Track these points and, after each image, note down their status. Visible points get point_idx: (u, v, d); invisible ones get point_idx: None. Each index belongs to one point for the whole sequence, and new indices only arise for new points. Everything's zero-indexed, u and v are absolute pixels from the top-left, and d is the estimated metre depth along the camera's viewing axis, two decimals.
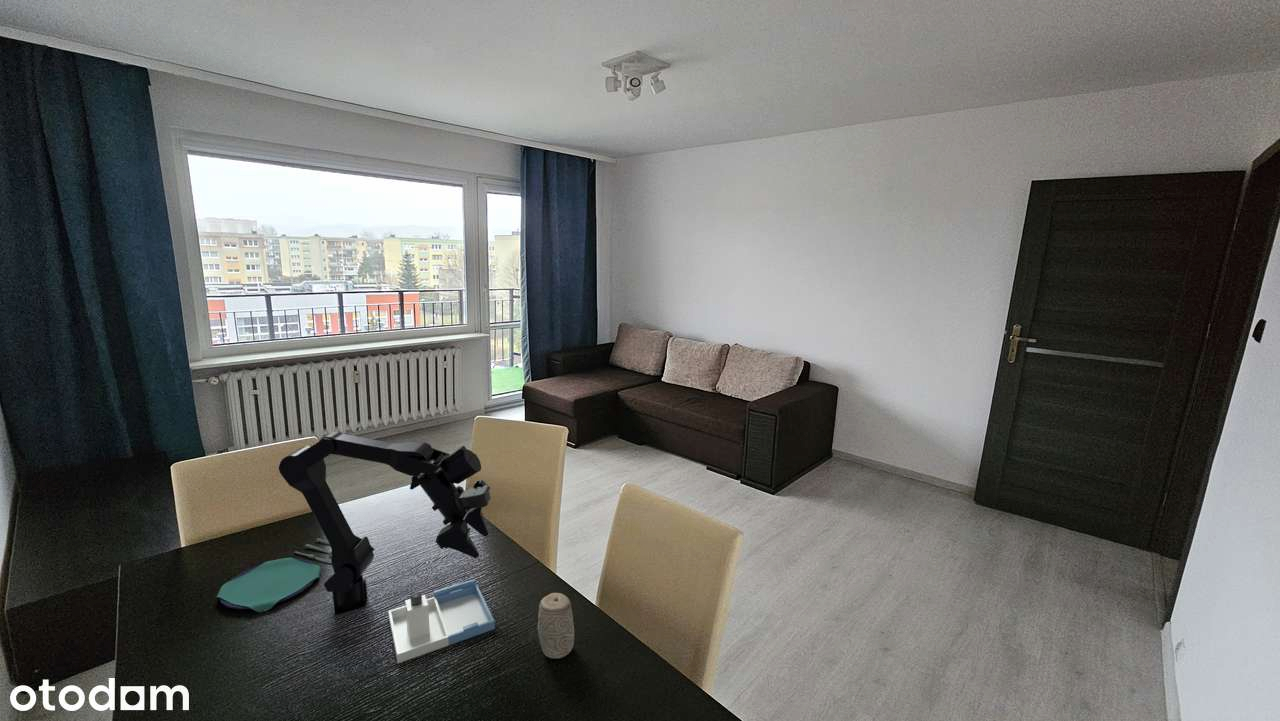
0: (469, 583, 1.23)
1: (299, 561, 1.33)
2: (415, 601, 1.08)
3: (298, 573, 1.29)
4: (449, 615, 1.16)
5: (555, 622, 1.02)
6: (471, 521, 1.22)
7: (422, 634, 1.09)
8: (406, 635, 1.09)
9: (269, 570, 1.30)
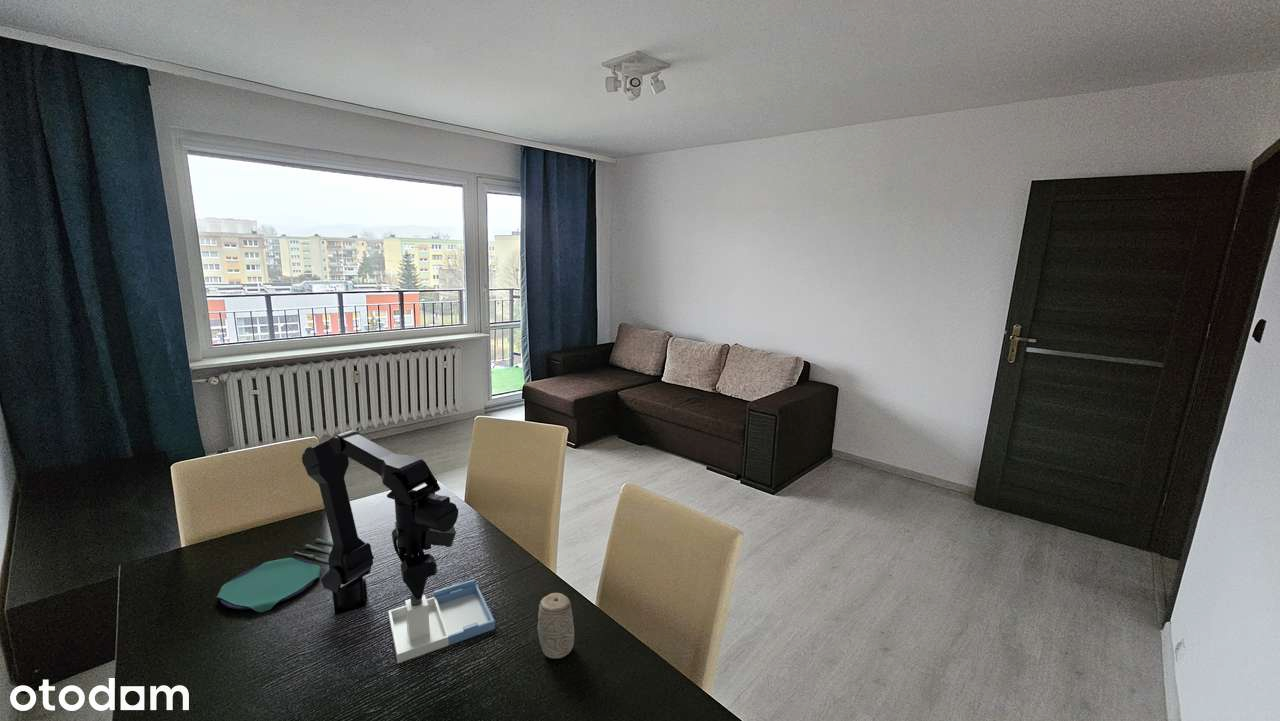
0: (469, 583, 1.23)
1: (299, 561, 1.33)
2: (415, 601, 1.08)
3: (298, 573, 1.29)
4: (449, 615, 1.16)
5: (555, 622, 1.02)
6: (404, 556, 1.11)
7: (422, 634, 1.09)
8: (406, 635, 1.09)
9: (269, 570, 1.30)
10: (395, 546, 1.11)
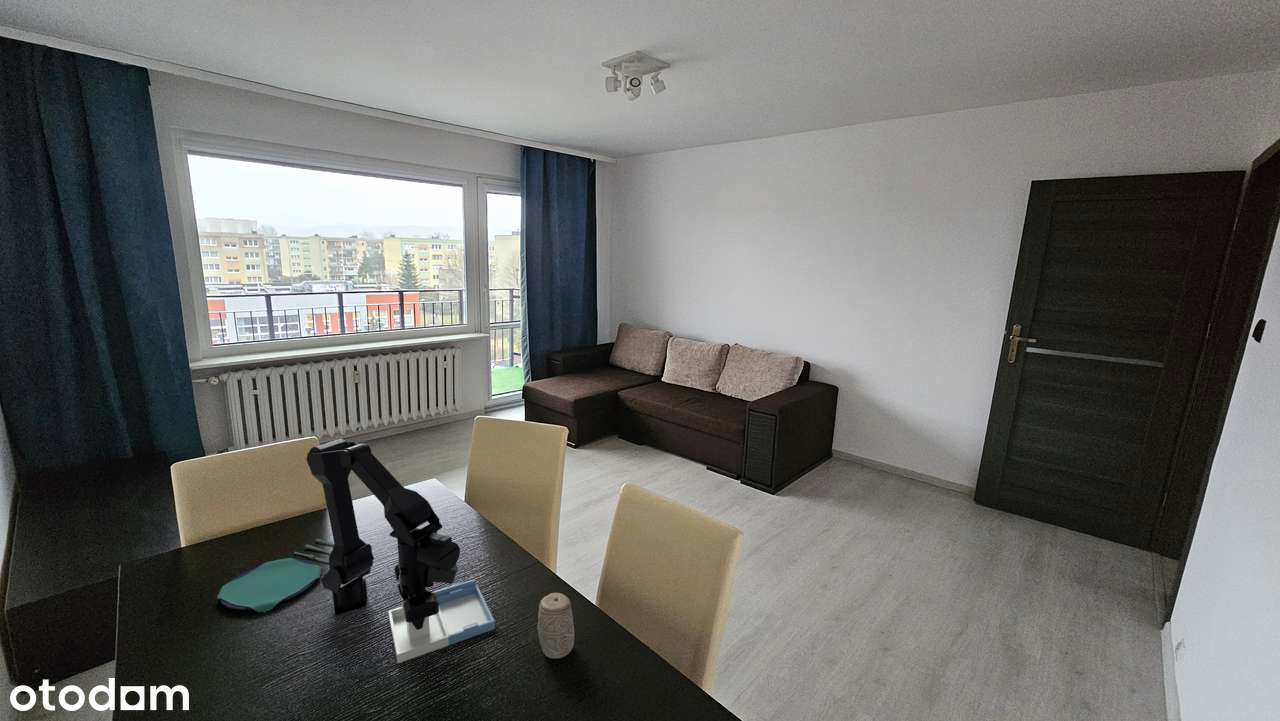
0: (469, 583, 1.23)
1: (299, 561, 1.33)
2: None
3: (299, 573, 1.29)
4: (449, 615, 1.16)
5: (555, 622, 1.02)
6: (408, 598, 1.11)
7: (422, 634, 1.09)
8: (406, 635, 1.09)
9: (269, 571, 1.30)
10: (399, 588, 1.11)
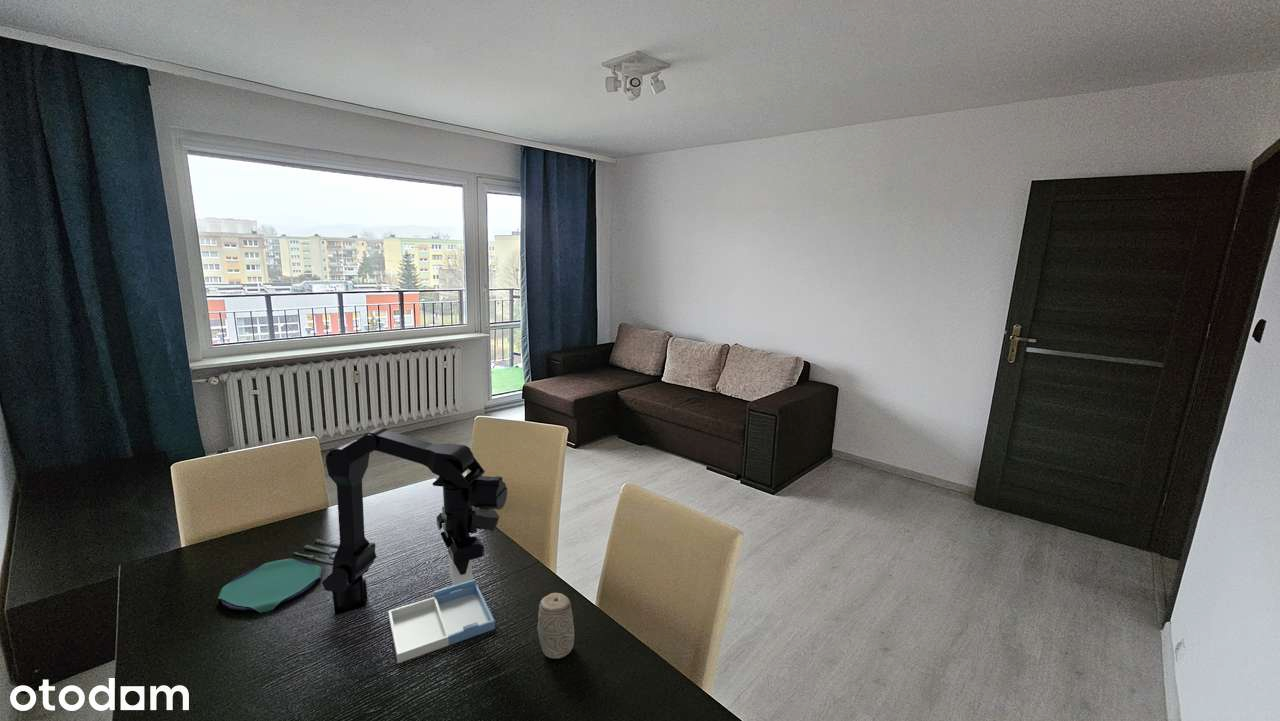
0: (469, 583, 1.23)
1: (299, 562, 1.33)
2: None
3: (299, 574, 1.29)
4: (449, 615, 1.16)
5: (555, 622, 1.02)
6: (451, 545, 1.14)
7: (465, 579, 1.12)
8: (406, 635, 1.09)
9: (270, 571, 1.29)
10: (442, 535, 1.14)
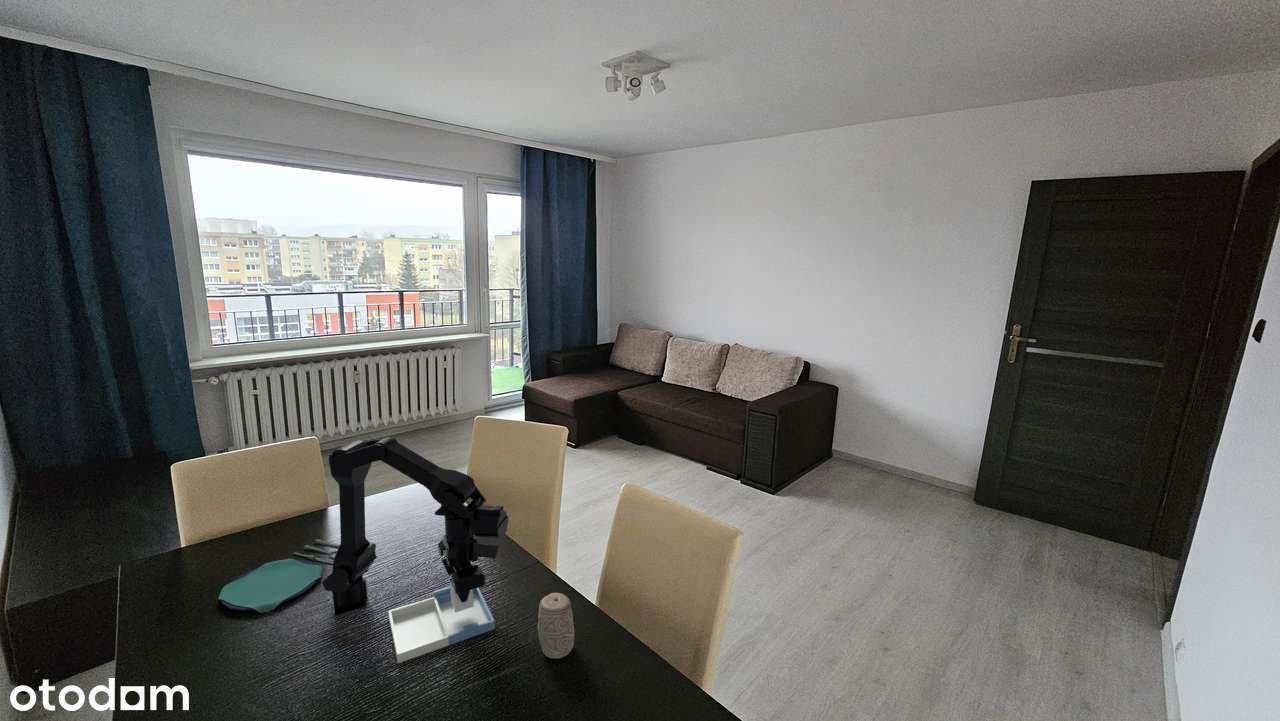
0: None
1: (299, 562, 1.33)
2: None
3: (299, 574, 1.29)
4: (449, 615, 1.16)
5: (555, 622, 1.02)
6: (452, 572, 1.15)
7: (466, 607, 1.14)
8: (406, 635, 1.09)
9: (270, 571, 1.29)
10: (444, 563, 1.15)
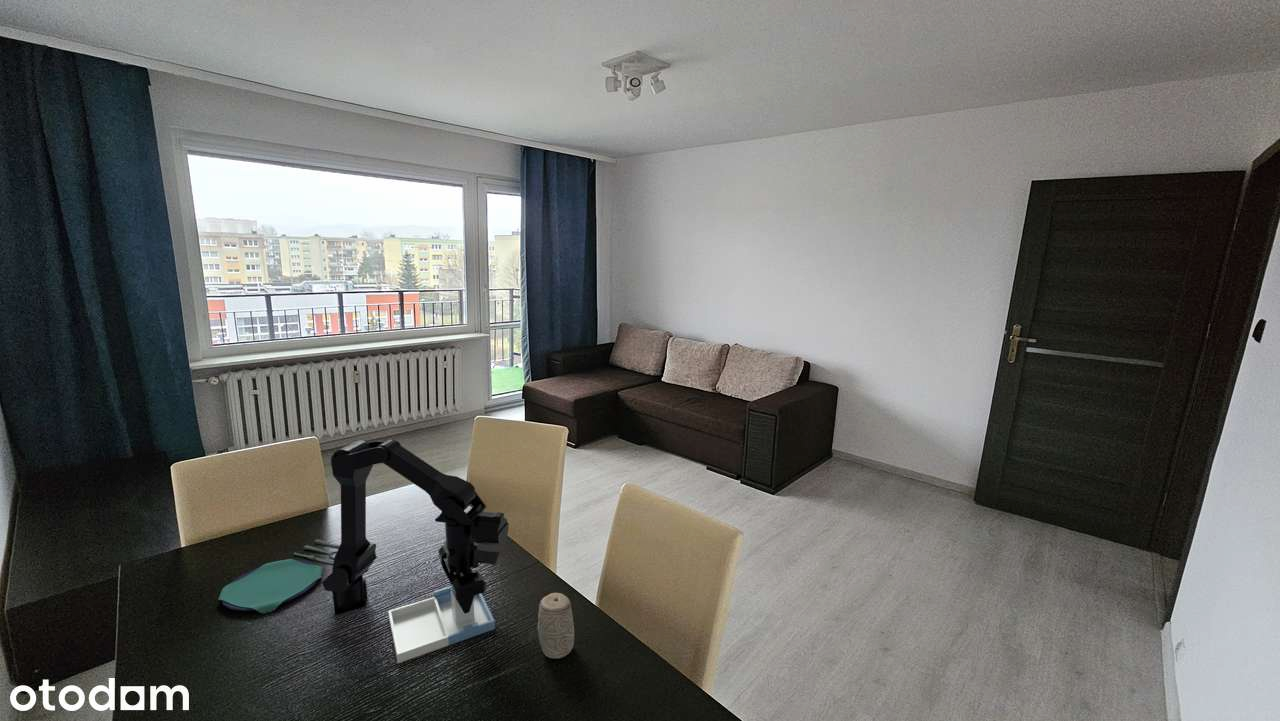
0: None
1: (299, 562, 1.33)
2: None
3: (299, 574, 1.29)
4: (449, 615, 1.16)
5: (555, 622, 1.02)
6: (451, 574, 1.17)
7: (467, 619, 1.14)
8: (406, 635, 1.09)
9: (270, 572, 1.29)
10: (443, 565, 1.17)
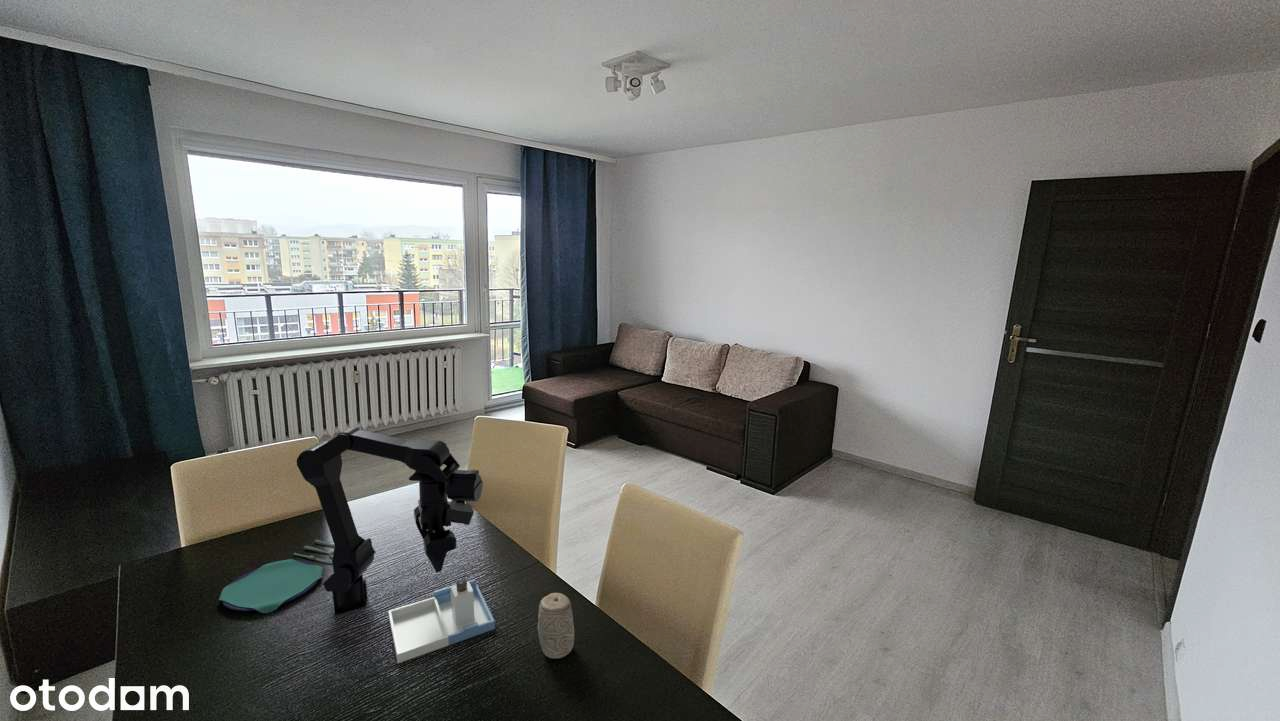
0: None
1: (300, 562, 1.33)
2: (461, 587, 1.13)
3: (300, 574, 1.29)
4: (449, 615, 1.16)
5: (555, 622, 1.02)
6: (424, 532, 1.19)
7: (467, 619, 1.14)
8: (406, 635, 1.09)
9: (270, 572, 1.29)
10: (417, 523, 1.19)
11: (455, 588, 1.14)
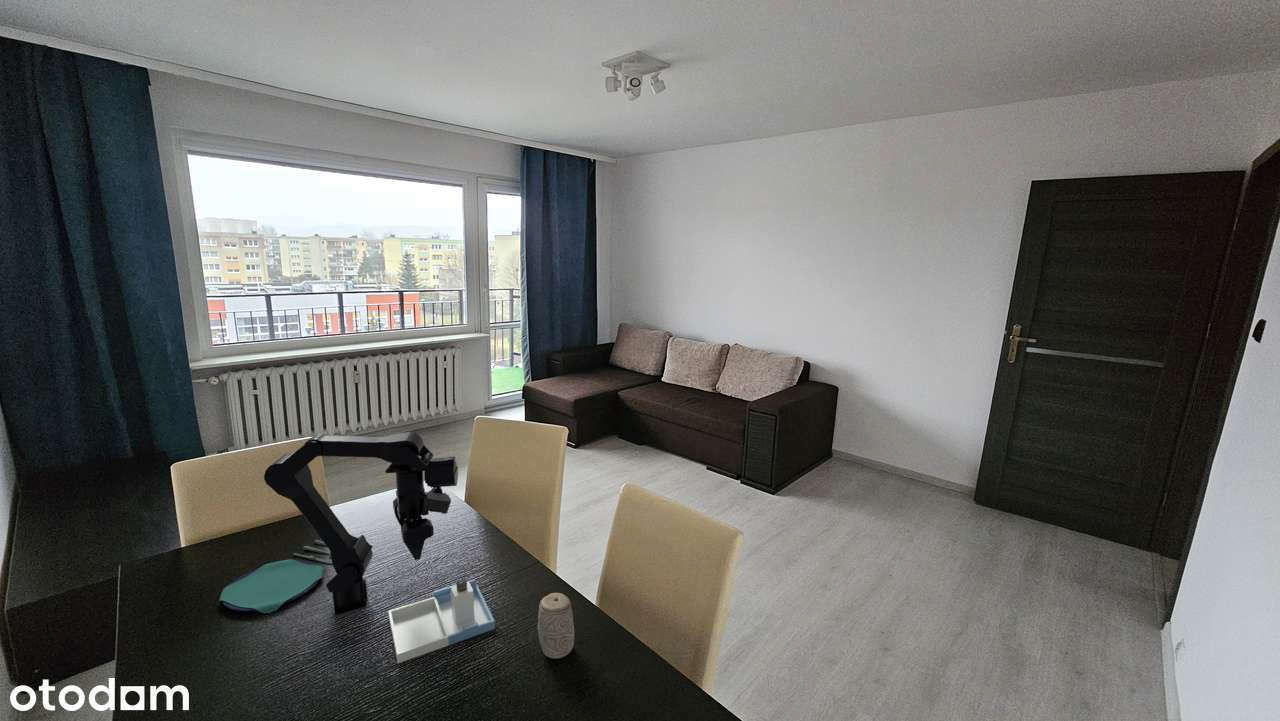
0: None
1: (300, 562, 1.33)
2: (461, 587, 1.13)
3: (300, 574, 1.29)
4: (449, 615, 1.16)
5: (555, 622, 1.02)
6: (404, 522, 1.23)
7: (467, 619, 1.14)
8: (406, 635, 1.09)
9: (270, 572, 1.29)
10: (396, 514, 1.23)
11: (455, 588, 1.14)
